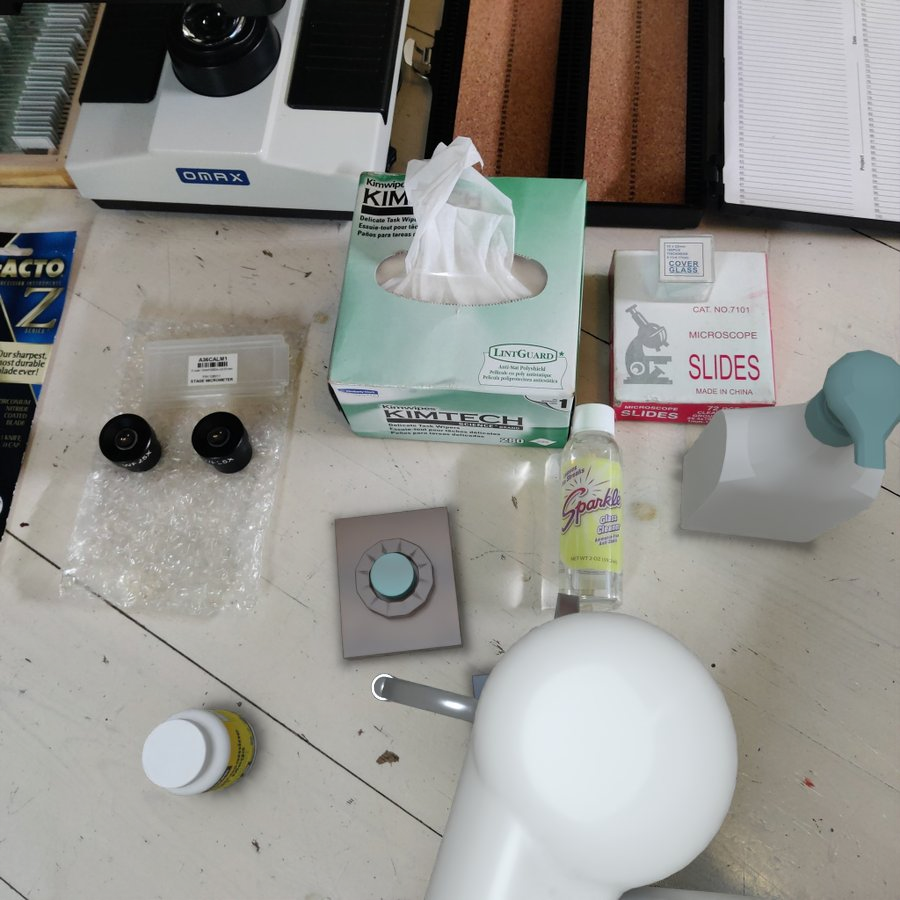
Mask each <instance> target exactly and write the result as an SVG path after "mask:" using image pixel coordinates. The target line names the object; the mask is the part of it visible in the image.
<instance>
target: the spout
mask: <svg viewBox="0 0 900 900" xmlns="http://www.w3.org/2000/svg"><path fill="white" fill-rule="evenodd" d="M370 691H371V694H372V696H373V697H374V698H375V699H376V700H378V701H381V702H387V703H396V704H399V705H403V706H406V707H410V708H415V709H418V710H422V711H425V712H430V713H433V714H437V715H442V716H445V717H449V718H453V719H456V720H460V721H464V722H468V723H472V724H474V719H475V713H476V709H477V705H478V701H479V699H476V698H474V696H473V697H472V696H468V695H465V694H461V693H457V692H454V691H449V690H445V689H440V688H438V687H434V686H429V685H425V684H421V683H418V682H414V681H411V680H406V679H403V678H399V677H397V676H394V675H392V674H390V673H379V674H378V675H375V677H374V678H373V679H372V681H371V684H370Z"/></svg>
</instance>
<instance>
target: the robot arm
mask: <svg viewBox="0 0 900 900" xmlns="http://www.w3.org/2000/svg"><path fill="white" fill-rule="evenodd" d="M580 600H581V599H580V595H574V594H570V593H569V594H568V593H561V592H558V593H557V597H556V602H555V603H556V604H555V610H554V616H553V618H552V619H551V620H549V621H546V622H544V623H541V624H540V625H535V626H534V627H532V628H531V629H530V630H529V631H528V632H527V633H526V634H524V635H523V636H522V637H521V638H519V639H518V640H517V641H515V642H514V643H513V644H512V645H511V646H509V648H508V649H507V650H506V651H505V653H504V654H503V655H502V656H501V657H500V658H499V659H498V661H497V662H496V663H495V665H494V667H493V668H492V670H491V671H490V673H489V674H490V675H489V677H488V679H487V681H486V683H485V685H484V687H483V690H482V692H481V695H480V698H479V701H478V705H477V709H476V713H475V719H474V723H472V728H471V732H470V735H469V738H468V743H467V746H466V751H465V753H464V758H463V761H462V765H461V769H460V772H459V777H458V780H457V782H456V783H457V784H456V787H455V791H454V795H453V799H452V803H451V805H450V808H449V809H450V810H449V813H448V816H447V820H446V824H445V826H444V830H443V834H442V837H441V841H440V844H439V846H438V850H437V854H436V857H435V860H434V864H433V867H432V871H431V873H430V877H429V881H428V883H427V887H426V891H425V894H424V897H423V900H776V899H774V898H767V897H761V896H760V897H759V896H750V895H742V894H733V893H725V892H715V891H703V890H695V889H694V890H692V889H682V888H670V887H662V886H661V887H659V886H649V885H652V884H655V883H657V882H660V881H663V880H665V879H666V878H668V877H670V876H672V875H673V874H675V873H677V872H679V871H681V870H683V869H684V868H686V867H687V866H688V865H690V864H691V863H692V862H693V861H694V860H695V859H696V858H697V857H698V856H699V855H700V854H702V853H703V852H704V851H705V850H706V848H707V847H708V846H709V844H710V843H711V842H712V840H713V839H714V838H715V836H716V835H717V834H718V832H719V831H720V830H721V827H722V825H723V823H724V821H725V819H726V817H727V815H728V813H729V811H730V807H731V804H732V800H733V797H734V793H735V790H736V788H737V787H736V786H737V777H738V768H739V767H738V766H739V753H738V739H737V738H738V737H737V732H736V728H735V725H734V721H733V720H734V719H733V716H732V713H731V712H732V711H731V710H730V707H729V705H728V703H727V700H726V698H725V696H724V693H723V691H722V689H721V688H720V686H719V684H718V682H717V681H716V679H715V677H714V676H713V675H712V673H711V672H710V670H709V668H708V667H707V666H706V665H705V663H703V662H702V660H701V659H700V658H699V657H698V656H697V654H695V653H694V652H693V651H692V650H691V649H690V648H689V647H688V646H687V645H686V644H685V643H684V642H682V641H681V640H680V639H679V638H678V637H676V636H674V635H673V634H672V633H670V632H669V631H667V630H665V629H664V628H662V627H661V626H658V625H656V624H654V623H652V622H650V621H647V620H645V619H642V618H639V617H636V616H634V615H629V614H626V613H621V612H614V611H603V610H602V611H601V610H593V611H581V610H580V609H581V607H580V606H581V605H580V603H581V601H580Z"/></svg>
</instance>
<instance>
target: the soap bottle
mask: <svg viewBox="0 0 900 900" xmlns="http://www.w3.org/2000/svg"><path fill="white" fill-rule="evenodd" d="M899 423H900V364H899V363H898V362H897V361H896V360H895V359H894V358H893V357H891V356H889V355H886V354H883V353H880V352H878V351H873V350H871V349H864V350H857V351H850V352H846V353H845V354H844V355H842V356H841V357H840V358H838V359H837V360H836V361H835V362H834V363H832V364H831V365H830V366H829V367H828V368H827V372H826V374H825V378H824V381H823V385H822V388H821V389H820V390H819V391H818V392H817V393H816V394H815V395H814V396H813V397H811V398H810V399H809V400H807V401H806V402H802V403H795V404H786V405H773V406H757V407H744V408H743V407H742V408H725V409H719V410H716V411H715V413H714V414H713V416H712V417H711V419H710V420H709V421H708V423H707V424H706V425H705V427H704V428H703V430H702V431H701V433H700V434H699V435H698V437H697V438H696V439H695V441H694V442H693V444H692V445H691V447H690V448H689V449H688V451H687V452H686V453H685V455H684V456H683V460H682V461H683V463H682V484H681V505H680V525H679V527H680V529H682V530H685V531H696V532H703V533H712V534H719V535H729V536H730V535H731V536H738V537H748V538H756V539H765V540H774V541H782V542H790V543H799V544H806V543H810V542H811V541H813V540H815V539H817V538H819V537H820V536H822V535H824V534H826V533H828V532H829V531H831V530H832V529H834V528H836V527H838V526H840V525H842V524H843V523H846V522H847V521H848V520H850V519H853V518H854V517H856V516H857V515H859V514H861V513H864V511H866V510H868V509H869V508H870V507H871V505H872V504H873V503H874V502H875V501H876V498H877V497H878V494H879V492H880V489H881V487H882V484H883V480H884V477H885V472H886V469H887V449H886V441H887V439H888V438H889V437H890V435H891V434H892V432H893V431H894V429H895V428H896V427H897V426H898V425H899Z"/></svg>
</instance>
